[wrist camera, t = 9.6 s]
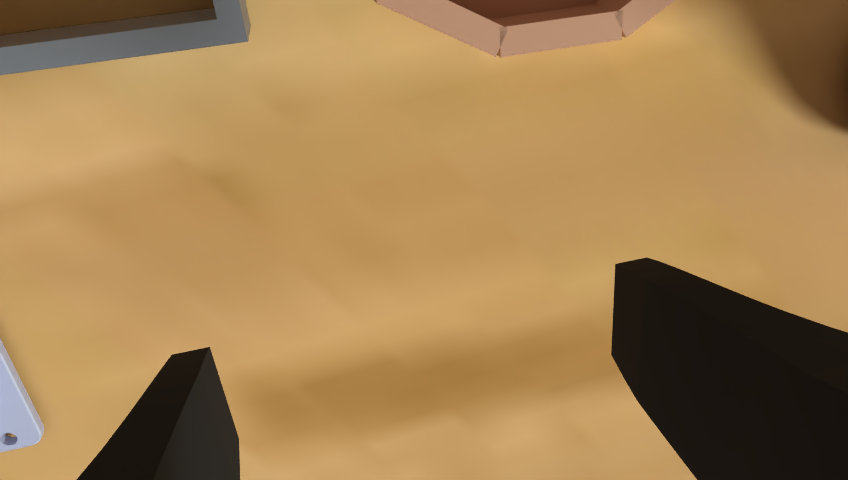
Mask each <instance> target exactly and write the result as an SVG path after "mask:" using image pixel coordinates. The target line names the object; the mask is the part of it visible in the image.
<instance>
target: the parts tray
mask: <svg viewBox="0 0 848 480" xmlns="http://www.w3.org/2000/svg"><path fill="white" fill-rule="evenodd" d="M213 4H214V8H209V9H201V10H193V11H185V12H178V13H170V14H162V15H154V16H146V17H138V18H131V19H123V20H115V21H107V22H99V23H91V24H84V25H76V26H68V27H60V28H52V29H44V30H37V31H29V32H21V33H13V34H5V35H0V75H5V74H13V73H20V72H27V71H35V70H42V69H49V68H57V67H64V66H71V65H79V64H86V63H94V62H101V61H108V60H116V59H123V58H130V57H138V56H145V55H152V54H160V53H167V52H174V51H182V50H189V49H197V48H204V47H211V46H219V45H226V44H233V43H241V42H248V39H249V33H250V28H251V25H250V21H249V16H248V11H247V7H246V2H245V0H213Z"/></svg>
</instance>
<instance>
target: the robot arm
mask: <svg viewBox="0 0 848 480" xmlns="http://www.w3.org/2000/svg"><path fill="white" fill-rule="evenodd" d="M611 355H612V357H613V358H614V360H615V362H616V364H617V366H618V368H619V370H620V371H621V373H622V375H623V377H624V379H625V381H626V382H627V384H628V386H629V387H630V389H631V391H632V392H633V394H634V396H635V398H636V399H637V401H638V402H639V404H640V405H641V406H642V408H643V409H644V410H645V412H646V413H647V414H648V416H649V417H650V418H651V420H652V421H653V422H654V424H655V425H656V426H657V428H658V429H659V430H660V432H661V433H662V434H663V436H664V437H665V438H666V440H667V441H668V442H669V443H670V445H671V446H672V447H673V449H674V450H675V451H676V453H677V454H678V455H679V456H680V458H681V459H682V460H683V462H684V463H685V464H686V466H687V467H688V468H689V469H690V471H691V472H692V473H693V475H694V476H695V477H696V479H697V480H848V333H847V332H844V331H841V330H838V329H834V328H831V327H828V326H825V325H822V324H820V323H817V322H814V321H811V320H808V319H805V318H802V317H800V316H797V315H794V314H791V313H788V312H785V311H783V310H780V309H777V308H775V307H772V306H770V305H767V304H764V303H762V302H759V301H757V300H754V299H751V298H749V297H746V296H744V295H742V294H739V293H737V292H734V291H732V290H729V289H727V288H724V287H722V286H719V285H717V284H714V283H712V282H710V281H707V280H705V279H702V278H700V277H697V276H695V275H693V274H690V273H688V272H685V271H683V270H680V269H678V268H675V267H673V266H670V265H667V264H665V263H662V262H659V261H656V260H653V259H650V258H643V259H638V260H633V261H628V262H623V263H618V264H615V286H614V309H613V331H612V354H611ZM43 432H44V425H43V423H42V421H41V419H40V417H39V415H38V413H37V411H36V409H35V407H34V405H33V403H32V401H31V399H30V397H29V395H28V393H27V391H26V389H25V387H24V385H23V383H22V381H21V379H20V377H19V375H18V373H17V371H16V369H15V367H14V365H13V363H12V361H11V359H10V357H9V355H8V353H7V351H6V349H5V347H4V345H3V343H2V341H1V339H0V452H4V451H9V450H13V449H18V448H23V447H27V446H31V445H34V444H36V443H38V442H39V441H40V439H41V437H42V435H43ZM5 433H11V434H14V435H15V436H16V437H10V436H7V435H6V434H5ZM77 480H240V460H239V438H238V435H237V431H236V428H235V425H234V422H233V419H232V416H231V413H230V409H229V406H228V403H227V400H226V397H225V394H224V391H223V387H222V384H221V381H220V378H219V375H218V372H217V369H216V365H215V362H214V359H213V356H212V353H211V350H210V347H208V348H203V349H198V350H193V351H188V352H183V353H178V354H173V355H171V357H170V358H169V359H168V361H167V362H166V363H165V365H164V366H163V367H162V369H161V370H160V371H159V373H158V374H157V376H156V377H155V378H154V380H153V381H152V382H151V384H150V385H149V387H148V388H147V389H146V391H145V392H144V394H143V395H142V396H141V398H140V399H139V401H138V402H137V403H136V405H135V406H134V407H133V409H132V410H131V412H130V413H129V414H128V416H127V417H126V418H125V420H124V421H123V422H122V424H121V425H120V426H119V428H118V429H117V430H116V431H115V433H114V434H113V435H112V437H111V438H110V439H109V441H108V442H107V443H106V445H105V446H104V447H103V449H102V450H101V451H100V452H99V453H98V455H97V456H96V457H95V458H94V459H93V461H92V462H91V463H90V464H89V465H88V467H87V468H86V469H85V470H84V471H83V473H82V474H81V475H80V476H79V477H78V479H77Z"/></svg>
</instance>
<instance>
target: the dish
mask: <svg viewBox="0 0 848 480" xmlns="http://www.w3.org/2000/svg"><path fill="white" fill-rule="evenodd" d="M374 1H375V2H376V3H378V4H380V5H382V6H384V7H387V8H389V9H391V10H393V11H396V12H398V13H400V14H402V15H404V16H407V17H409V18H411V19H413V20H415V21H418V22H420V23H422V24H424V25H427V26H429V27H431V28H433V29H435V30H438V31H440V32H442V33H444V34H447V35H449V36H451V37H453V38H455V39H458V40H460V41H462V42H464V43H466V44H469V45H471V46H473V47H475V48H478V49H480V50H482V51H484V52H486V53H489V54H491V55H493V56H495V57H496V55H498V56H499V57H507V56H513V55H520V54H527V53H534V52H540V51H547V50H554V49H561V48H568V47H574V46H581V45H588V44H595V43H602V42H608V41H615V40H621V39H622V36H623V37H628V36H629V35H630V34H631V33H633V32H634V31H635V30H637V29H638V28H639V27H641V26H642V25H643V24H645V23H646V22H647V21H649V20H650V19H651V18H652V17H654V16H655V15H656V14H658V13H659V12H660V11H662V10H663V9H664V8H666V7H667V6H668V5H670V4H671V3H672V2H673V1H675V0H374Z"/></svg>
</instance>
